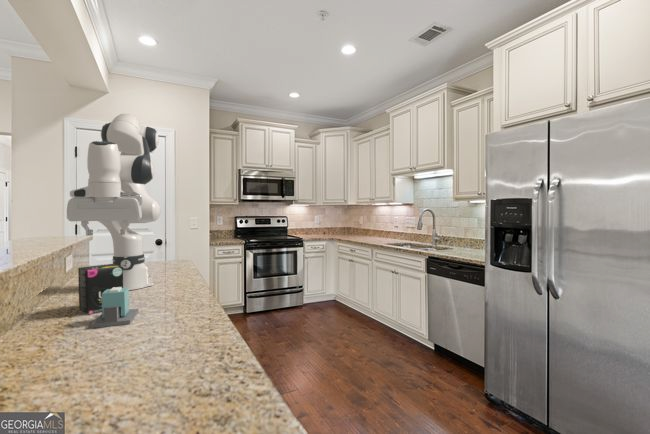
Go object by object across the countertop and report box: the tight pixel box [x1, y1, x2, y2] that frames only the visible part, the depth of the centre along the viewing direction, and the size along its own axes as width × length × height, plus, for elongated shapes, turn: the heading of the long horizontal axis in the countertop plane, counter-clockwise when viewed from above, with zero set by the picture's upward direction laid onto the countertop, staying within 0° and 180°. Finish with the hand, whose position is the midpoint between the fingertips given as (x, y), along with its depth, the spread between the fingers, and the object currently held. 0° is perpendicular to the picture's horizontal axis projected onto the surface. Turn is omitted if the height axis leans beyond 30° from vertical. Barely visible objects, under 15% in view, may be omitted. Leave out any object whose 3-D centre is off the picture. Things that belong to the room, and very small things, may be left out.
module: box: [101, 287, 130, 318], centre depth 103 cm, size 6×6×8 cm
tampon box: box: [77, 263, 123, 315], centre depth 115 cm, size 11×9×15 cm
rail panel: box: [90, 306, 139, 329], centre depth 103 cm, size 12×10×6 cm
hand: (106, 234), depth 107 cm, fingers open, 8 cm apart
